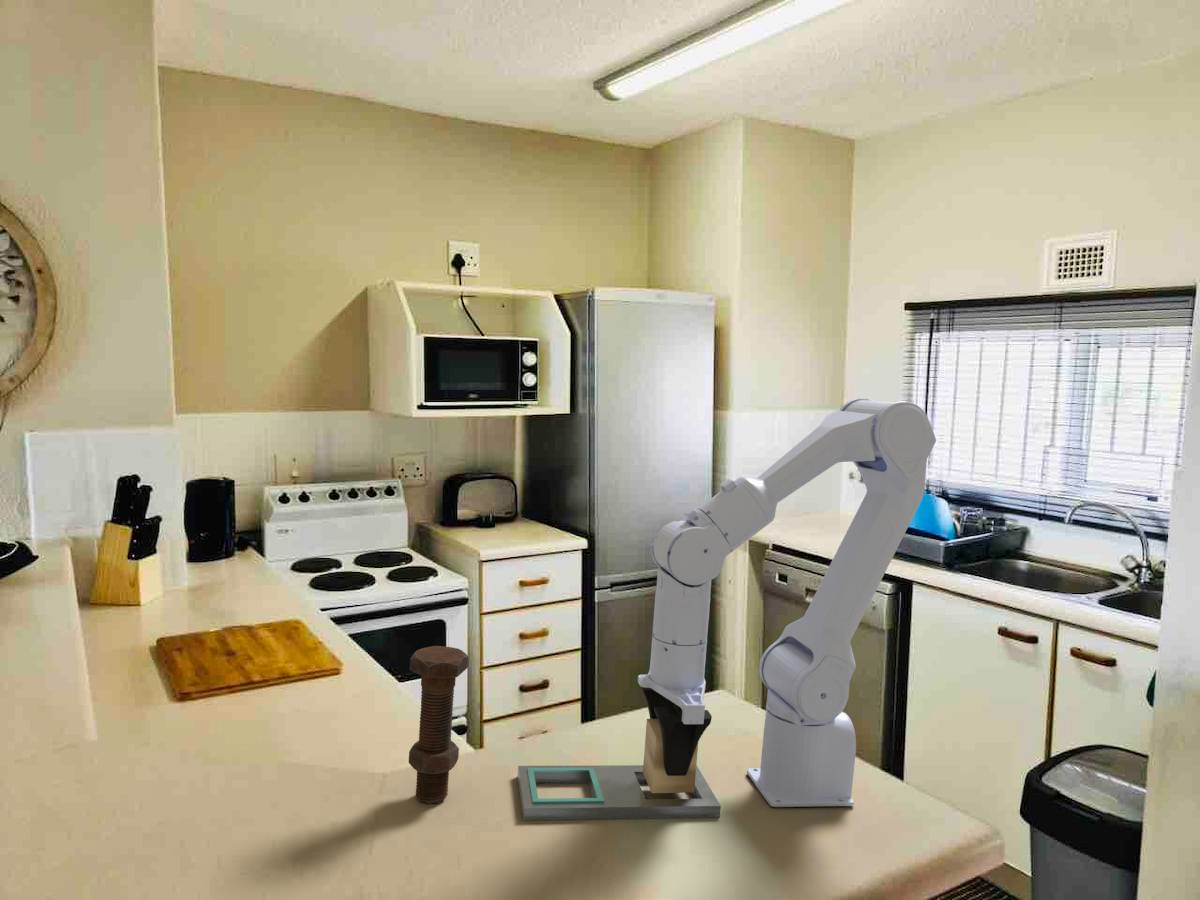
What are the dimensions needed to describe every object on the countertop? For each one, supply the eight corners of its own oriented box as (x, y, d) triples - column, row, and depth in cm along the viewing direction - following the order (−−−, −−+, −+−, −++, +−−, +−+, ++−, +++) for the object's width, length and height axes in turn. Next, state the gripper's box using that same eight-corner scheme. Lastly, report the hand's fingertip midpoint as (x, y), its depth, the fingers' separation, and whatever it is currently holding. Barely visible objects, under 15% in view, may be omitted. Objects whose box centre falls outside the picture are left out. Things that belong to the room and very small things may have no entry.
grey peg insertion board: (695, 775, 94) (696, 763, 94) (719, 817, 86) (721, 804, 85) (517, 776, 91) (518, 764, 91) (523, 820, 82) (524, 806, 82)
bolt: (443, 816, 82) (452, 666, 81) (395, 807, 83) (403, 659, 82) (465, 789, 88) (473, 648, 86) (419, 781, 89) (427, 642, 87)
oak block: (683, 771, 92) (687, 718, 91) (694, 792, 87) (698, 736, 87) (642, 772, 91) (646, 718, 90) (652, 793, 87) (656, 736, 86)
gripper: (628, 616, 94) (620, 733, 95) (658, 660, 80) (647, 797, 81) (689, 617, 95) (680, 733, 97) (729, 661, 81) (718, 796, 82)
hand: (669, 762), depth 89 cm, fingers closed on oak block, 4 cm apart
